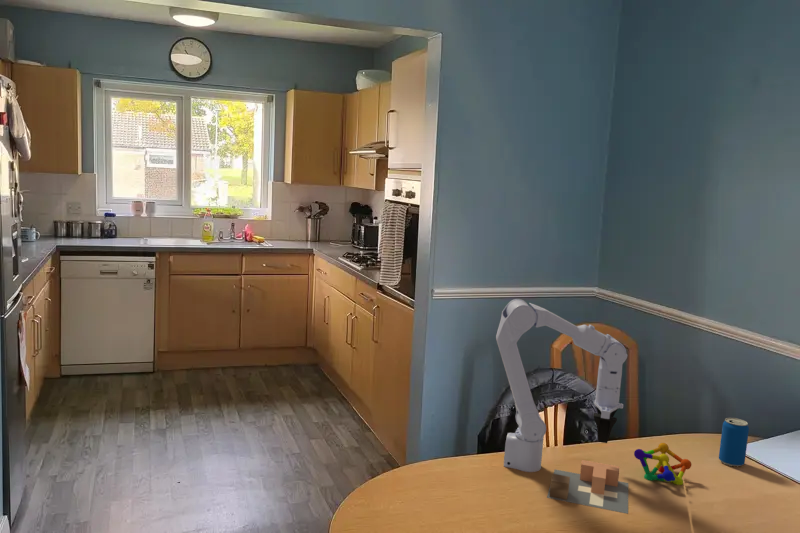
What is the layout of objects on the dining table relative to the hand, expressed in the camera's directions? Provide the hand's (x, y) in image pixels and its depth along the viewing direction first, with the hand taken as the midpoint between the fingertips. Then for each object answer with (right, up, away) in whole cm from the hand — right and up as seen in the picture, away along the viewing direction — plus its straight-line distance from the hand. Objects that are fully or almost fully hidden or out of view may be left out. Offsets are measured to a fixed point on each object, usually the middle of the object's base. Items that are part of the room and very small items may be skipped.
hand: (603, 437), depth 174 cm
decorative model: (+15, -11, -1) cm, 18 cm away
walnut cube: (-15, -10, -14) cm, 23 cm away
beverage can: (+39, -11, +13) cm, 43 cm away
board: (-7, -11, -11) cm, 17 cm away
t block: (-4, -10, -8) cm, 13 cm away
